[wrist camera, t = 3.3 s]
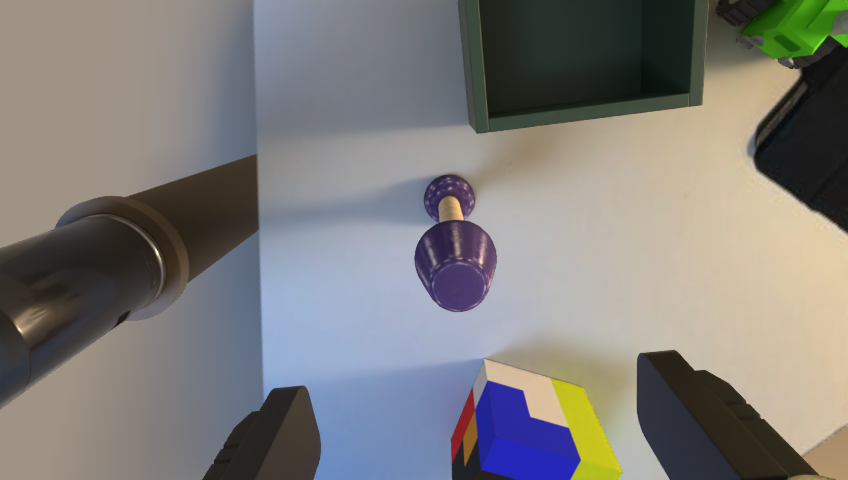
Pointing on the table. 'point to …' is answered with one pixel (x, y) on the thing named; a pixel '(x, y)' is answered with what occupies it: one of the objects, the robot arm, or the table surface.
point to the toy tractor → (789, 27)
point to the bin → (579, 59)
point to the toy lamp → (454, 248)
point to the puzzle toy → (529, 430)
